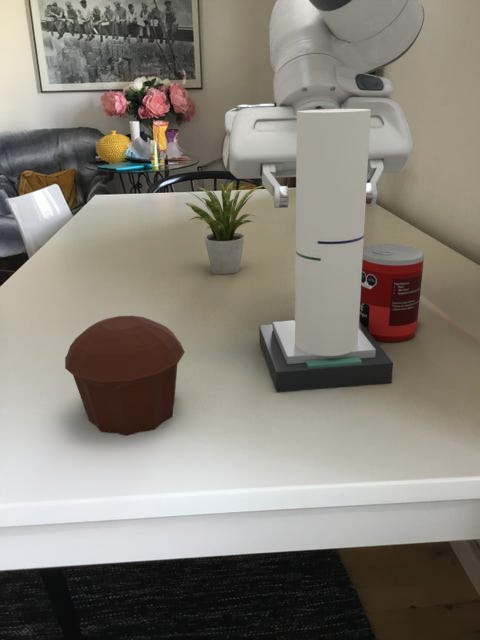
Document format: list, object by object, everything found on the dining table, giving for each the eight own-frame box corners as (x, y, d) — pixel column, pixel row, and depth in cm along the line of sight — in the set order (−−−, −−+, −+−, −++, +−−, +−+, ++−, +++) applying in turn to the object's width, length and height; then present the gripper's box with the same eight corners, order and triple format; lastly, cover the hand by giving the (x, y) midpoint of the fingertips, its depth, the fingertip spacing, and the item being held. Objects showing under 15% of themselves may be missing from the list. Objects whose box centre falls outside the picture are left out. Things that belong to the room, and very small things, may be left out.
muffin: (190, 383, 64) (185, 300, 60) (186, 439, 54) (179, 344, 50) (85, 387, 64) (73, 305, 60) (61, 445, 54) (44, 350, 50)
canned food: (360, 317, 81) (365, 242, 76) (419, 323, 78) (426, 246, 74) (350, 338, 74) (354, 257, 70) (413, 346, 71) (421, 262, 67)
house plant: (251, 254, 113) (249, 170, 107) (282, 272, 101) (282, 179, 95) (182, 263, 108) (176, 176, 102) (206, 284, 96) (201, 187, 90)
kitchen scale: (356, 335, 75) (357, 311, 74) (391, 382, 63) (393, 354, 62) (259, 343, 74) (258, 318, 72) (276, 392, 62) (276, 363, 60)
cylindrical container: (356, 358, 61) (369, 111, 51) (290, 353, 63) (291, 113, 53) (359, 332, 67) (371, 108, 58) (299, 328, 69) (301, 109, 59)
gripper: (222, 85, 63) (228, 189, 57) (406, 79, 63) (428, 181, 58) (223, 125, 68) (228, 223, 63) (391, 119, 69) (410, 215, 64)
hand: (325, 203), depth 60 cm, fingers open, 8 cm apart
